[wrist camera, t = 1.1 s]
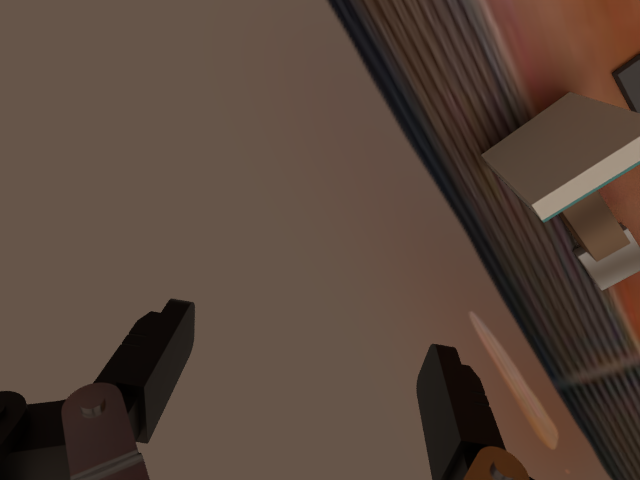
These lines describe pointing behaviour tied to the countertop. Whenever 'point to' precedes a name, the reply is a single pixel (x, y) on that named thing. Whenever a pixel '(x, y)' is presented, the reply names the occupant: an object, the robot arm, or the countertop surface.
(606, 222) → the tan two-tone long part
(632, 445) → the countertop surface
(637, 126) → the tile
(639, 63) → the mat
